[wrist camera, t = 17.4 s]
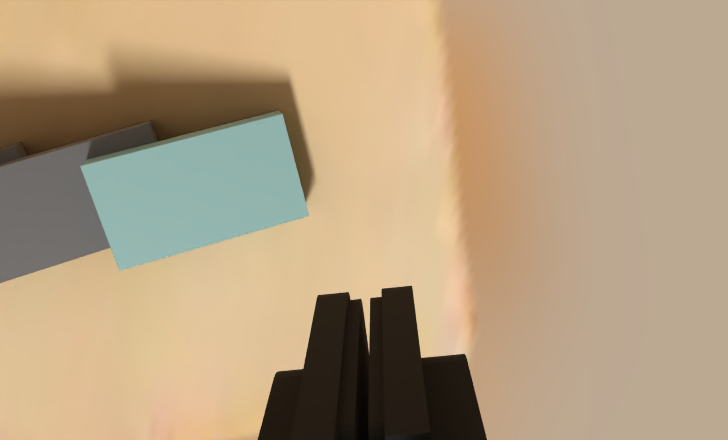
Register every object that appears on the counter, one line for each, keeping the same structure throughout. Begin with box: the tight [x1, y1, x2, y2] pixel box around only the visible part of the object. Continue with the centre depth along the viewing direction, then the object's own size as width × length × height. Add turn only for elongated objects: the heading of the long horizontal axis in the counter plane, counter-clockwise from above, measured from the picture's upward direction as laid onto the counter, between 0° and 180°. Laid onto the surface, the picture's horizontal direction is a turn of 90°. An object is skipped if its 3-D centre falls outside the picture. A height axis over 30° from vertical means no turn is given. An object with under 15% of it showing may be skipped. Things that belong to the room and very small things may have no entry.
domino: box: [0, 120, 158, 283], centre depth 30 cm, size 5×2×9 cm
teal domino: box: [80, 111, 309, 271], centre depth 30 cm, size 5×2×9 cm
